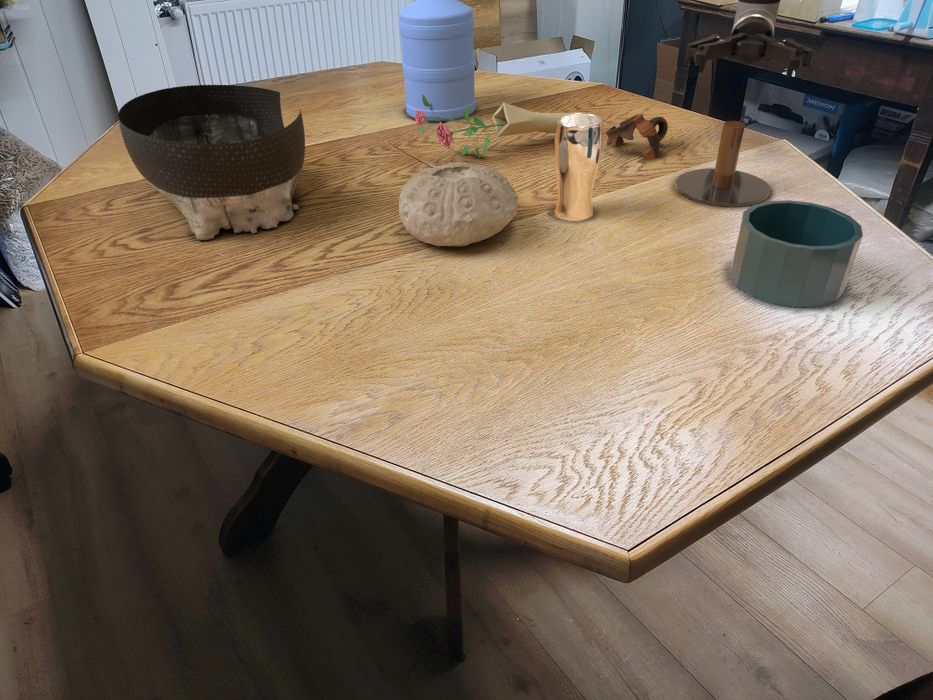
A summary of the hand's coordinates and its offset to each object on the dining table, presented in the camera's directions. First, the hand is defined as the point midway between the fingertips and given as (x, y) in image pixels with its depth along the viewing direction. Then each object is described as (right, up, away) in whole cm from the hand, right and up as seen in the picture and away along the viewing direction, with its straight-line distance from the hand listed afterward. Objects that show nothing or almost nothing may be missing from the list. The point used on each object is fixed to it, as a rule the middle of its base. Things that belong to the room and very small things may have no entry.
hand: (745, 66), depth 110 cm
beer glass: (-28, -25, -3) cm, 38 cm away
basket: (-85, -20, +7) cm, 88 cm away
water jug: (-51, +7, +43) cm, 67 cm away
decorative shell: (-46, -28, -6) cm, 54 cm away
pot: (-4, -37, -21) cm, 43 cm away
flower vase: (-37, -8, +21) cm, 44 cm away
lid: (-3, -19, +3) cm, 19 cm away
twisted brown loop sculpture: (-13, -9, +18) cm, 24 cm away
